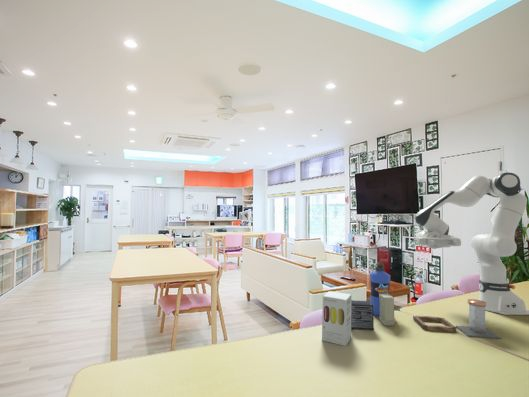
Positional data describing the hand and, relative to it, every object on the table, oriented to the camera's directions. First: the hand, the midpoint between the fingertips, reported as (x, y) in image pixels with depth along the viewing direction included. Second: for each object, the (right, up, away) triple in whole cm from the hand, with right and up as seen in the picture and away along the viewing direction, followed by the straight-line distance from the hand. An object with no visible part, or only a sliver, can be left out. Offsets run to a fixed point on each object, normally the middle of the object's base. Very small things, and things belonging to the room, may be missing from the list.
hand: (444, 242), depth 145 cm
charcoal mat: (-1, -34, -23) cm, 41 cm away
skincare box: (-35, -34, -14) cm, 51 cm away
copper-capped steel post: (-1, -33, -23) cm, 40 cm away
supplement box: (-61, -33, -32) cm, 76 cm away
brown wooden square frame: (-15, -34, -16) cm, 40 cm away
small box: (-48, -33, -19) cm, 62 cm away
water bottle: (-33, -35, -2) cm, 48 cm away
